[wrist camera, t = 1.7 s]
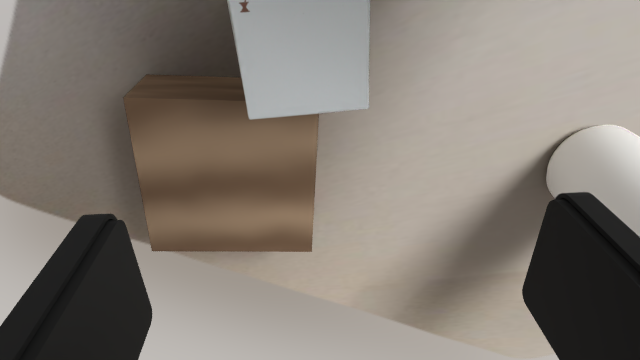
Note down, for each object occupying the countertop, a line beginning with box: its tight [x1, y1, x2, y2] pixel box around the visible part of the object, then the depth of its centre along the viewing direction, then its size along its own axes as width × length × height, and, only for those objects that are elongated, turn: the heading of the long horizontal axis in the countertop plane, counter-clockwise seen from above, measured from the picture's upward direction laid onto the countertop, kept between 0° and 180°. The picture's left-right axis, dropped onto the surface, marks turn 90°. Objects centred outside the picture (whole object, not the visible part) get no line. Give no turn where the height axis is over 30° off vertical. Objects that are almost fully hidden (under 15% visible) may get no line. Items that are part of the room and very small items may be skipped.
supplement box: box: [227, 0, 370, 120], centre depth 28 cm, size 7×7×13 cm
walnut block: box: [123, 75, 319, 252], centre depth 37 cm, size 14×14×6 cm
